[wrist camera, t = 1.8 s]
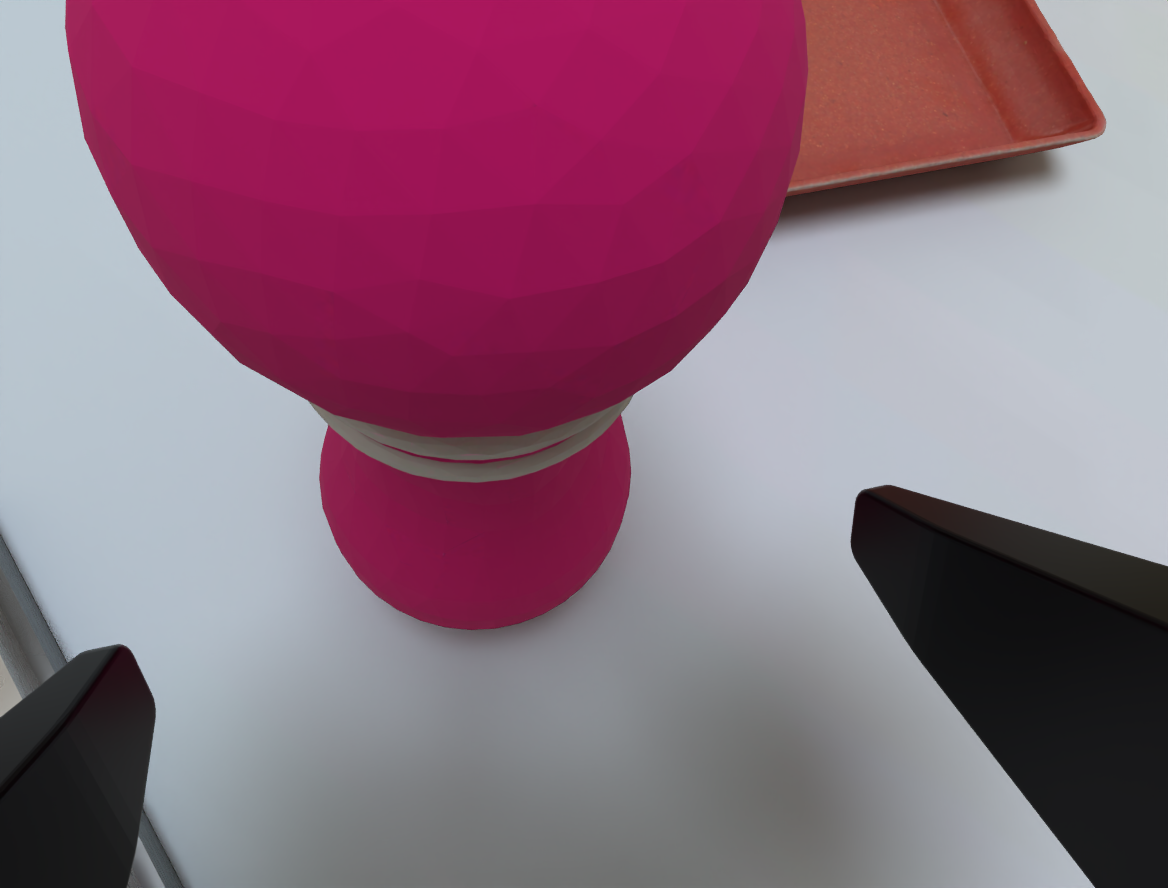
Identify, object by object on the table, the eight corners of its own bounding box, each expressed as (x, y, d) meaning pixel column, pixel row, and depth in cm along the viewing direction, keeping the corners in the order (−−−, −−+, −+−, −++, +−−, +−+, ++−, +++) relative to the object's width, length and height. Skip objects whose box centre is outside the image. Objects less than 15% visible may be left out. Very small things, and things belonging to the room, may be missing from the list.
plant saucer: (635, 269, 25) (656, 209, 22) (508, -91, 31) (511, -180, 27) (1051, 191, 29) (1118, 131, 26) (876, -117, 34) (915, -198, 31)
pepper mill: (309, 583, 20) (-2025, -901, 1) (423, 370, 23) (118, -1162, 4) (547, 682, 20) (1370, 491, 1) (634, 457, 23) (1336, -688, 4)
